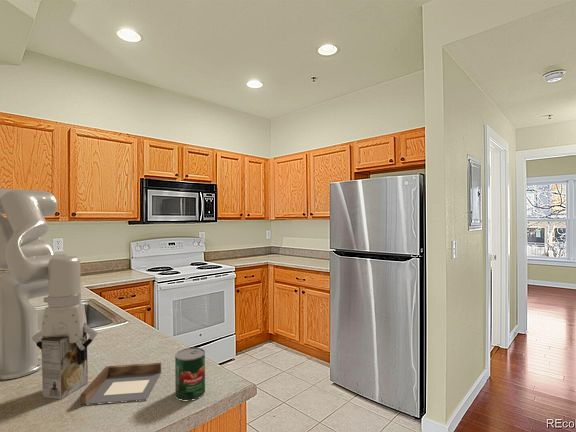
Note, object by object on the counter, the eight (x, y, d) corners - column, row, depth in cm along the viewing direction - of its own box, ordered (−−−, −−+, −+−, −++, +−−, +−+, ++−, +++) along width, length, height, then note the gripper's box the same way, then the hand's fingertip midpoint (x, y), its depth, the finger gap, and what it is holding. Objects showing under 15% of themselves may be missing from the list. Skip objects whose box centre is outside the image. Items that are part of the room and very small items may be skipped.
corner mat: (80, 405, 85) (80, 403, 85) (106, 375, 101) (106, 374, 101) (146, 400, 88) (146, 398, 88) (161, 372, 103) (161, 370, 103)
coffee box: (69, 380, 98) (69, 326, 98) (88, 382, 97) (88, 327, 97) (41, 397, 89) (40, 337, 89) (61, 400, 88) (60, 339, 88)
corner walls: (80, 405, 85) (80, 394, 85) (106, 375, 101) (106, 366, 101) (146, 400, 88) (146, 389, 88) (161, 372, 103) (161, 362, 103)
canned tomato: (189, 404, 86) (188, 362, 85) (168, 396, 90) (168, 355, 90) (211, 390, 92) (211, 351, 92) (191, 383, 96) (191, 345, 96)
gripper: (22, 305, 88) (22, 372, 88) (92, 303, 91) (92, 367, 91) (39, 298, 96) (39, 359, 96) (103, 296, 98) (104, 356, 98)
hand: (65, 363), depth 93 cm, fingers closed on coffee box, 7 cm apart
